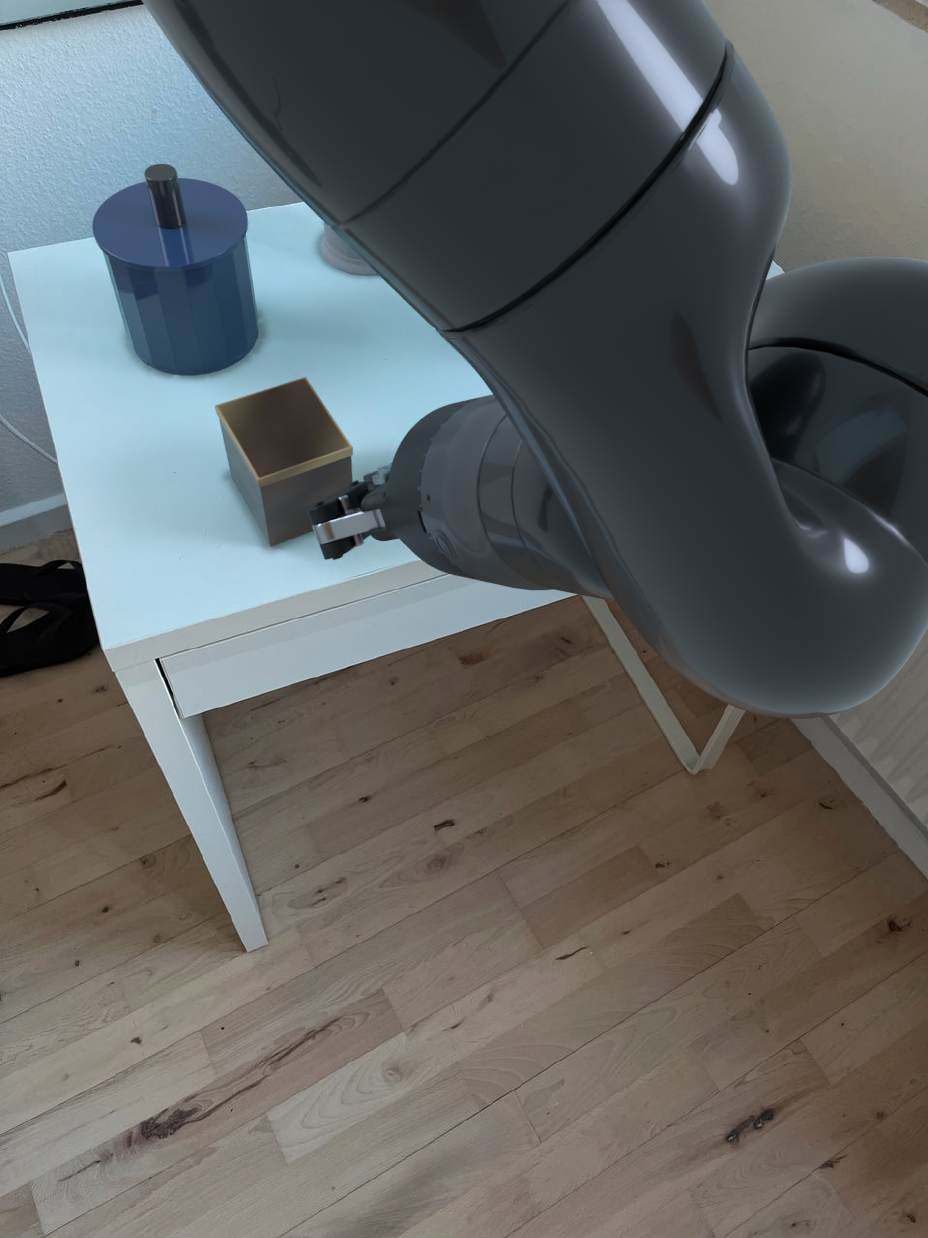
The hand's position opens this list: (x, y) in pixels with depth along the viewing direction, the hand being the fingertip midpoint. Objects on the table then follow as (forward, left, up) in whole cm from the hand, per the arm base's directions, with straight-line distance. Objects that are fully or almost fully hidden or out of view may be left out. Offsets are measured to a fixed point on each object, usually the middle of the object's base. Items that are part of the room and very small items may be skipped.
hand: (379, 490), depth 53 cm
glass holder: (+22, +42, -17) cm, 50 cm away
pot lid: (0, +37, -6) cm, 38 cm away
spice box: (0, +16, -16) cm, 23 cm away
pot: (0, +37, -16) cm, 41 cm away
